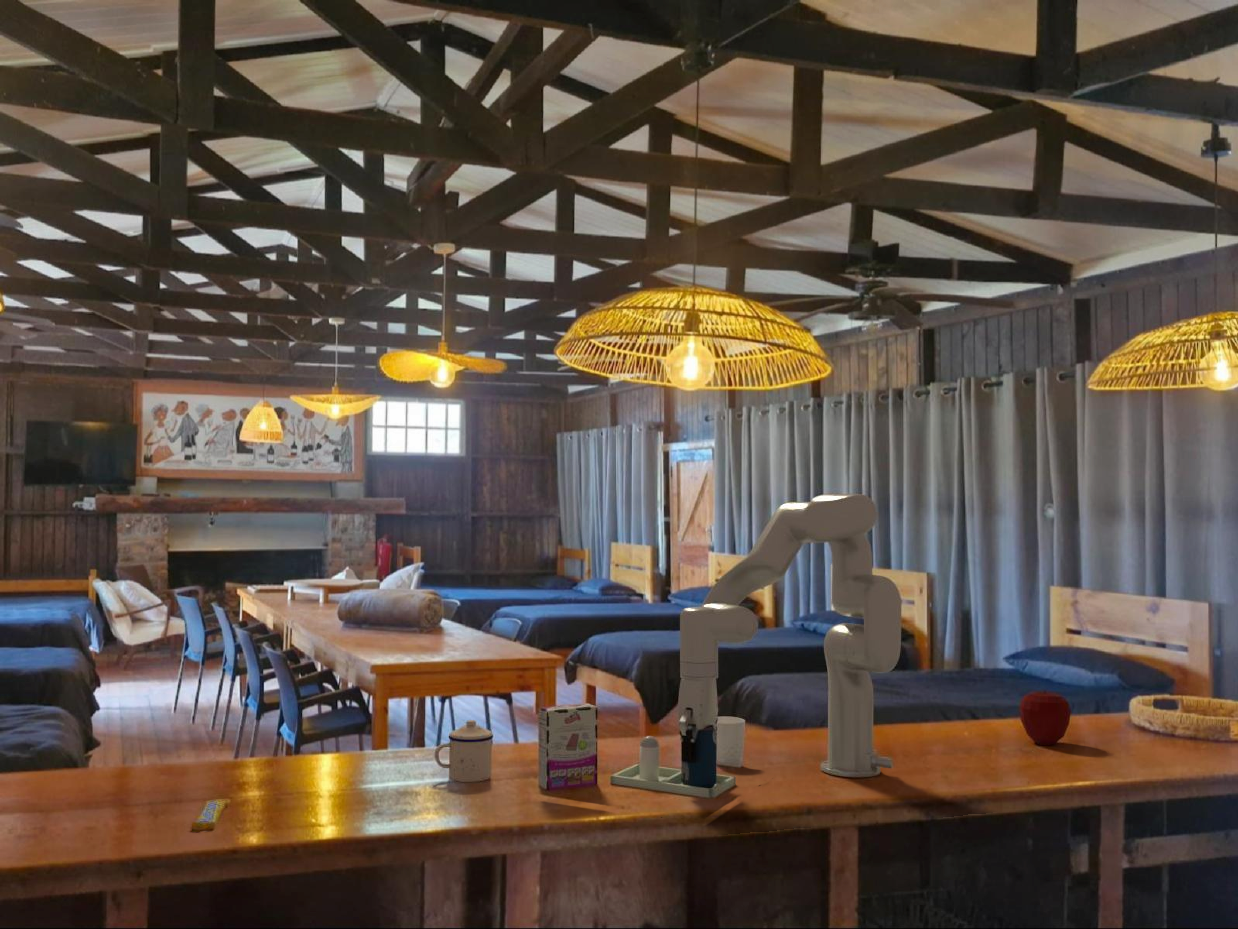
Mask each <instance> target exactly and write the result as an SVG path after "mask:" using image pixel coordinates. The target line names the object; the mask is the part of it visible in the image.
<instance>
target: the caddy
mask: <svg viewBox="0 0 1238 929" xmlns="http://www.w3.org/2000/svg"><path fill="white" fill-rule="evenodd" d="M609 781H610V782H609V783H610V784H611V785H616V786H623V787H624V786H625V787H631V788H636V789H637V788H638V789H644V790H652V791H658V792H659V791H660V792H665V793H670V794H671V793H672V794H680V795H686V796H692V797H693V796H694V797H699V798H707V799H714V798H716V797H717V796H719V795H721V794H722V793H724V792H726V791H728V790H729V789H731V788H732V787H734V786H735V785H736V776H731V775H723V774H717V773H716V783H715V785H714V787H712V788H711V789H709V788H701V787H694V786H687V785H683V783H682V781H681V769H679V768H671V767H665V766H659V781H652V780H645V779H639V763H635V764H633V765H631V766H629V767H627V768H625V769H622V770H620V771H618V772H615V773H613V774H611V775H610V778H609Z"/></svg>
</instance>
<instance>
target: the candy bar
mask: <svg viewBox="0 0 1238 929" xmlns="http://www.w3.org/2000/svg"><path fill="white" fill-rule="evenodd" d="M230 801H231V800H230V799H229V798H218V799H217V798H215V799H207V800H206V801H205V805H204V807H203V809H202V811H201V813H200V815H199V816H198V818H197V819H196V821H193V822H192V823H191V826H190V829H191V830H193V831H195V832H196V831H203V830H214V829H215V827H216V825H217V823H218V822H219V819H220V818H221V816H222V815H223V812H224V811H225V809H226V807H227V805H228V804H229V803H230Z"/></svg>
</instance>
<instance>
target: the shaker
mask: <svg viewBox="0 0 1238 929" xmlns="http://www.w3.org/2000/svg"><path fill="white" fill-rule="evenodd" d="M638 755H639V757H638V759H639V761H638V762H639V763H638V764H639V779H645V780H652V781H659V767H660V745H659V741H658V740H657V738H656V737H654V736H652V735H646V736H644V737H643V738H642V739H641V740H640V743H639V754H638Z"/></svg>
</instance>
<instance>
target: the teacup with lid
mask: <svg viewBox="0 0 1238 929" xmlns="http://www.w3.org/2000/svg"><path fill="white" fill-rule="evenodd" d="M493 738H494V735H493V733H492V731H491V730H489V729H486V728H483V727H482V726H480V725H477V721H476V720H474V719H469V720H467V721H466V722H465V725H462V726H460V727H458V728H457V729H455V730H454V729H453V730H452V731H450V732H449V734H448V740H449V742H448V743H441V744H439V745H438V746H437V747H436V748H435V750H434V759H435V762H436V764H437V765H438V766H439V767H441V768H442V769H448V778H449V779H450V780H451V781H454V782H459V783H479V782H485V781H487V780H489V779H491V777H492V753H493V752H492V750H493V749H492V748H493V746H492V744H493V743H492V742H493ZM445 748H449V751H448V752H449V753H448V754H449V757H448V758H449V764H447V763H443V762H442V761H441V760H440V756H439V753H440V751H441V750H443V749H445Z"/></svg>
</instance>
